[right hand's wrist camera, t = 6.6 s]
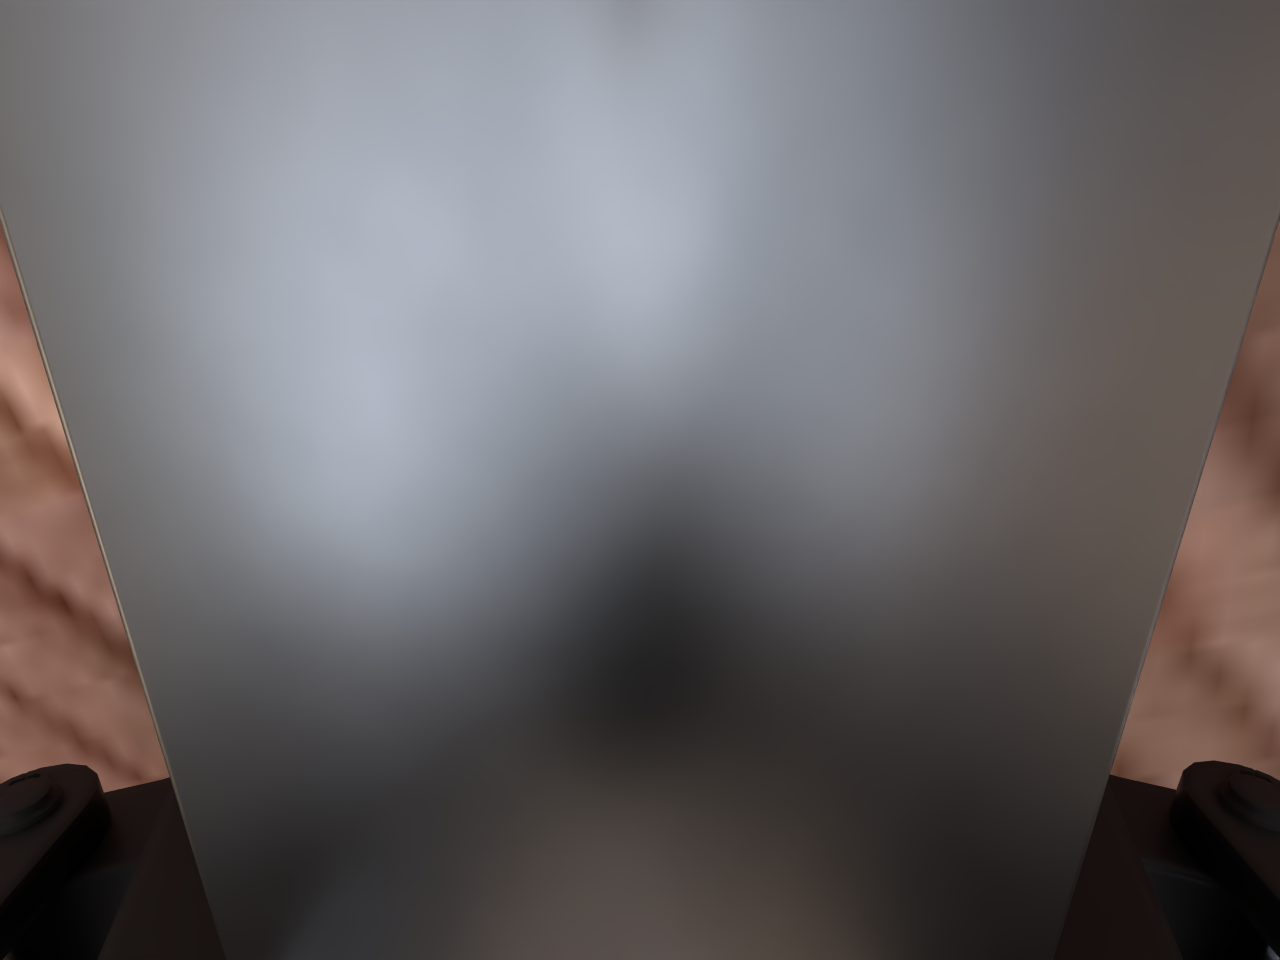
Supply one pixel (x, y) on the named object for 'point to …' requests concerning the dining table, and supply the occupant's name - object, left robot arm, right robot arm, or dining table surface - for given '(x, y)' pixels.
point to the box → (639, 443)
